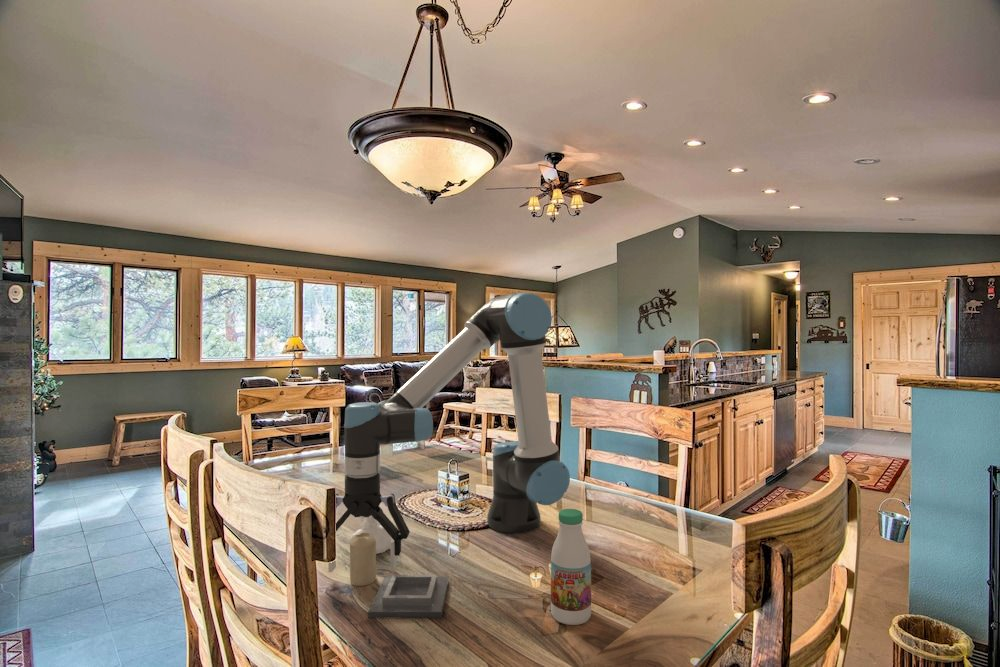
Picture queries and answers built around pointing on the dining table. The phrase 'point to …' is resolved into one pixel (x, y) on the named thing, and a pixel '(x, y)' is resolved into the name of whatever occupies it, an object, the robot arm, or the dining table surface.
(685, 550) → the dining table surface
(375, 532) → the white animal figurine
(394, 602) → the plate
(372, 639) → the dining table surface
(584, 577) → the milk bottle
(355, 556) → the candle
